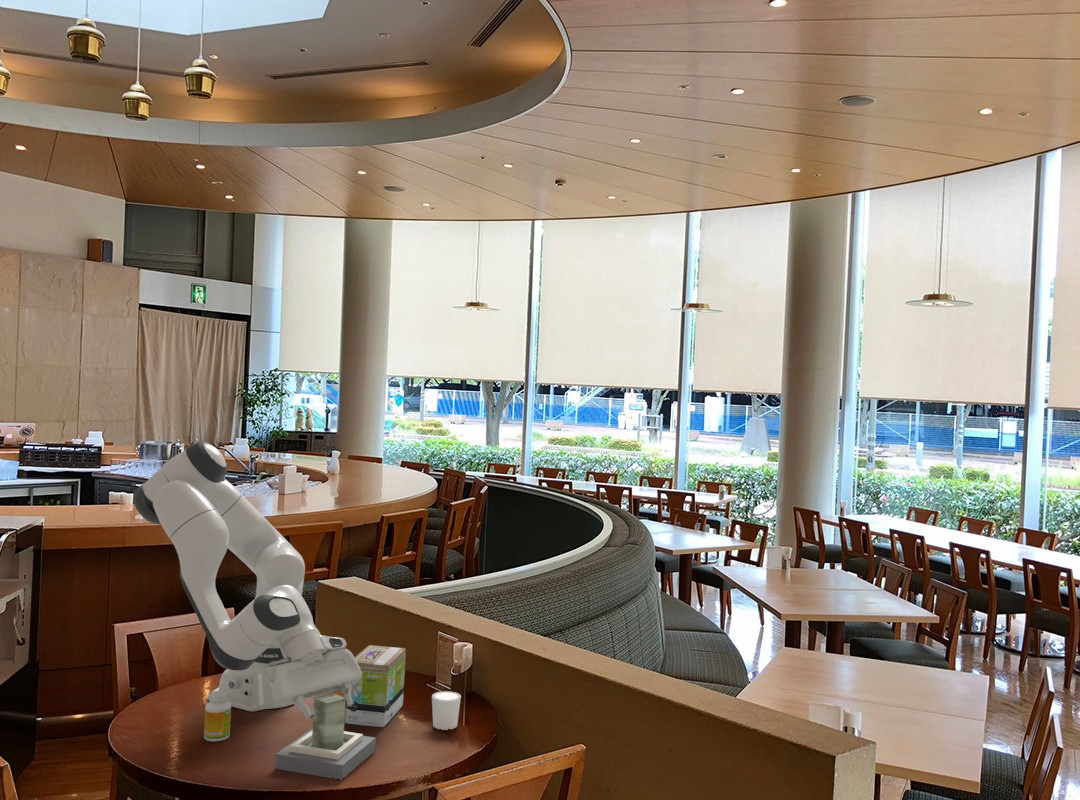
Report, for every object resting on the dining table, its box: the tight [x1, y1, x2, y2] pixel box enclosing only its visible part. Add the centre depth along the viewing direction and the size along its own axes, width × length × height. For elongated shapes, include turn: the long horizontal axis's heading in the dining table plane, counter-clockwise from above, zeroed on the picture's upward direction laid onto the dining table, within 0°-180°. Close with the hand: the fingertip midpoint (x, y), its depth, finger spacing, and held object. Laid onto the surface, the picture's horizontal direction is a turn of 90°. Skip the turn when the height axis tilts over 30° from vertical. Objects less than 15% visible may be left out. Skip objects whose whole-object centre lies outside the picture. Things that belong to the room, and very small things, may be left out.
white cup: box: [431, 690, 462, 731], centre depth 204 cm, size 7×7×7 cm
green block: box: [312, 692, 346, 750], centre depth 182 cm, size 5×5×10 cm
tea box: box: [344, 644, 407, 728], centre depth 208 cm, size 15×10×15 cm
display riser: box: [274, 728, 377, 781], centre depth 182 cm, size 15×15×4 cm
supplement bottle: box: [203, 690, 232, 742], centre depth 191 cm, size 5×5×10 cm
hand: (330, 711), depth 182 cm, fingers open, 8 cm apart
